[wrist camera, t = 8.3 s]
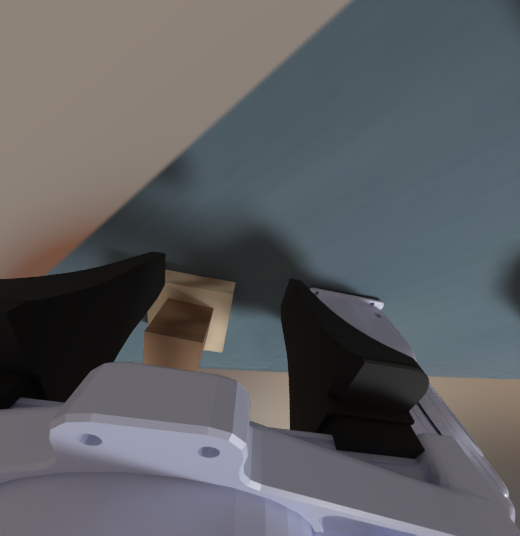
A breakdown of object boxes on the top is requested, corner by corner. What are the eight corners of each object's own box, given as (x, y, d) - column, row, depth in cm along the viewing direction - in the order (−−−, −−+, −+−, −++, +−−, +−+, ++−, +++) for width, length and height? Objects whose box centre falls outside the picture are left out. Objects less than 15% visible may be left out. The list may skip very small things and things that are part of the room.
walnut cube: (213, 308, 23) (202, 343, 18) (206, 340, 25) (194, 378, 20) (167, 297, 22) (144, 331, 18) (163, 331, 24) (142, 369, 20)
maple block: (236, 280, 25) (233, 294, 22) (225, 334, 29) (222, 352, 26) (158, 266, 24) (146, 279, 21) (159, 324, 28) (148, 341, 25)
